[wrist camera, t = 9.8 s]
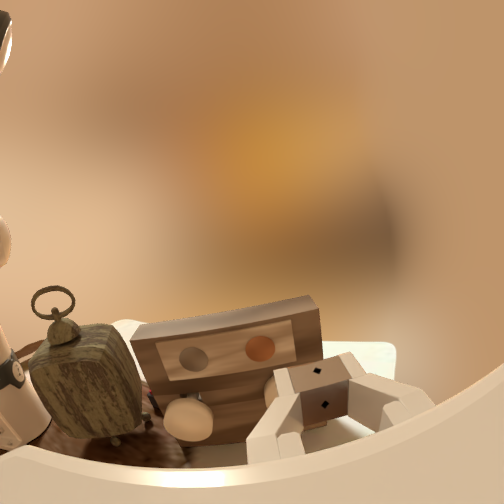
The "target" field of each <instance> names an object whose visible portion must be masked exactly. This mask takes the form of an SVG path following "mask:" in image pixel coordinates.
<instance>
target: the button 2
mask: <svg viewBox="0 0 504 504" xmlns="http://www.w3.org/2000/svg"><path fill="white" fill-rule="evenodd" d="M264 396H265V403H266V407H267V408H269V406H270V405H271V404H272V402H273V401H274V399H275V398H277V397H278V395H277V389H276V383H275V378H274V376H272V377H271V378H270V379H269V380H268V381H267V382H266V384H265V386H264Z"/></svg>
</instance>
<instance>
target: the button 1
mask: <svg viewBox="0 0 504 504" xmlns="http://www.w3.org/2000/svg"><path fill="white" fill-rule="evenodd" d="M198 398H199V392H197V393H187V397H186V398H180V399H176V400H173V401H172V402H170V403H169V404H168V406H167V409H166V412H165V416H164V420H163V425H164V427H165V429H166V430H167V432H168V433H170V434H171V435H172V436H174V437H176V438H178V439H181V440H184V441H192V442H194V441H201V440H204V439H206V438H208V437H209V436H210V435H211V433H212V429H213V413H212V411H211V409H210V408H209V407H208V406H207V405H206V404H204V403H202V402H200V401H198Z"/></svg>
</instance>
